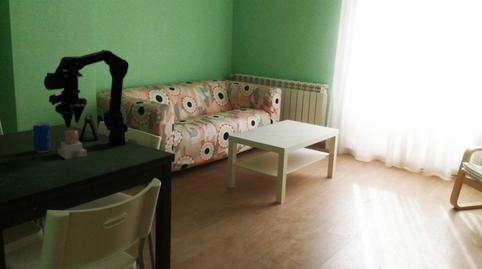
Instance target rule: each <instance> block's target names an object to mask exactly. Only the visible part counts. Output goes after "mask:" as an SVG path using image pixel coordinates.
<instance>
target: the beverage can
mask: <svg viewBox="0 0 482 269" xmlns="http://www.w3.org/2000/svg"><path fill="white" fill-rule="evenodd" d="M32 131H33V132H32V133H33V146H34V147H33V148H34V151H35V152H36V153H39V154H43V153H49V151H50V150H51V149H52V146H51V145H52V144H51V128H50V125H49V123H48V122H36V123H34V124H33V126H32Z"/></svg>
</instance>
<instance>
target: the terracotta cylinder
mask: <svg viewBox="0 0 482 269" xmlns="http://www.w3.org/2000/svg"><path fill="white" fill-rule="evenodd" d="M64 139H65V140H64V141H65V143H66V144H77V143H78V141H79V130H76V129H68V130H65V131H64Z"/></svg>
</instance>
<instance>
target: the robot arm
mask: <svg viewBox="0 0 482 269" xmlns="http://www.w3.org/2000/svg"><path fill="white" fill-rule="evenodd" d="M101 62H104V63H105V64H106V65H107V66H108V69H109V71H108V72H109V73H110V76H111V87H110V98H109V108H108V111H107V112H104V113H103V119H102V122H103V125H104V126H105V127H106V130H107V131H109V134H108V142H107V144H110V145H111V146H113V147H116V146H123V145H124V144H125V145H127V142H126V133H128V130H129V127H128V126H127V125H126V124H125V123H124V116H123V113H122V111H121V110H122V109H121V108H122V97H123V96H122V95H123V87H124V86H123V85H124V79H125V77H126V76H127V75H128V70H129V62H128V61H127V60H126V59H123V58H122V57H120V56H118V55H116V54H115V53H113V52H112V51H111V50H108V49H102V50H100V51H96V52H92V53H88V54H85V55H81V56H63V57H62V58H61V59H60V61H59V64H58V66H57V68H56V69H55V71H54V72H47V73H46V76H45V77H44V79H43V84H44V87H45V89H46V90H47V91H56V90H61V92H60V93H61V94H58V95H56V94H50V95H49V98H48V102H49V103H51V106H55V105H56V106H55V107H54V108H55V109H54V111H55V112H57V114H60V115H61V116H62V118H63V121H64V124H65V127H66V128H70V127H71V125H72V120H73V116H74V121H75V123H77V124H78V123H79V121H80V120H81V117H82V114H83V112H84V111H85V108H86V106H87V105H88V101H87V99H86V98H85V97H79V96H80V94H79V93H81V89H79V78H80V77H81V78H82V77H84V76H83V75H84V74H82V73H81V72H80V71H81V70H82V69H84V68H85V67H87V66H90V65H94V64H97V63H101ZM62 89H63V90H62Z"/></svg>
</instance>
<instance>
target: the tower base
mask: <svg viewBox="0 0 482 269" xmlns="http://www.w3.org/2000/svg"><path fill="white" fill-rule="evenodd" d="M57 155H58V156H60V157H61V158H64V159H65V160H70V159H77V158H82V157H88V150H87V149H85V148H83V147H82V151H76V152H67V153H65V152H64V151H63V150H62V149H61V147H60V148H57Z"/></svg>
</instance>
